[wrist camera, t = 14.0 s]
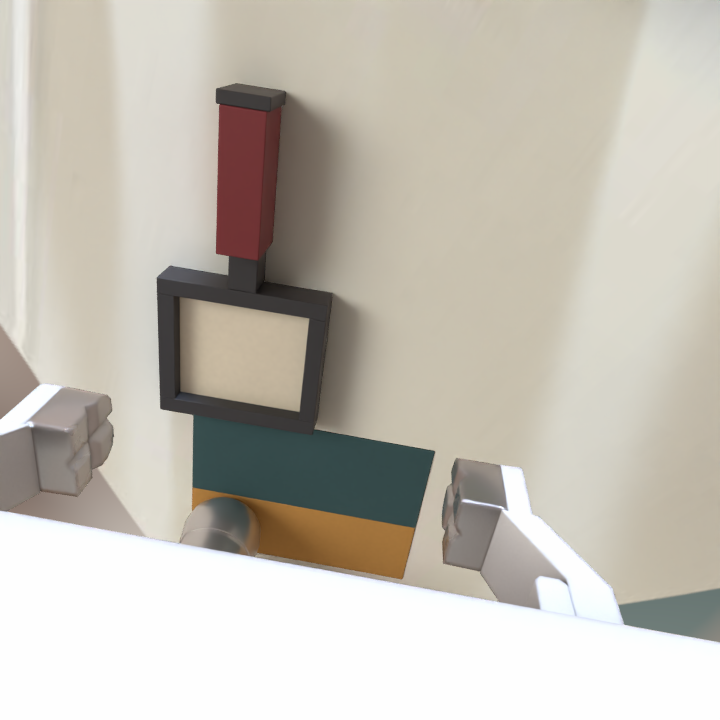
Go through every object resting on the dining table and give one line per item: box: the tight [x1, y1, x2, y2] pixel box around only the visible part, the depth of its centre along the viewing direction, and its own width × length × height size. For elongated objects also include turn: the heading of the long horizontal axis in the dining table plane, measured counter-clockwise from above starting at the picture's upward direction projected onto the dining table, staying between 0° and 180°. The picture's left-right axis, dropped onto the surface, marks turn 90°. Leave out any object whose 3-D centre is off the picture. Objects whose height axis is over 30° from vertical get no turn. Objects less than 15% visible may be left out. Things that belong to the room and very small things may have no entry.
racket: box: [157, 83, 333, 435], centre depth 42 cm, size 24×12×4 cm, turn 172°
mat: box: [192, 415, 435, 579], centre depth 53 cm, size 20×15×1 cm
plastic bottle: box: [180, 497, 261, 557], centre depth 46 cm, size 6×7×20 cm
